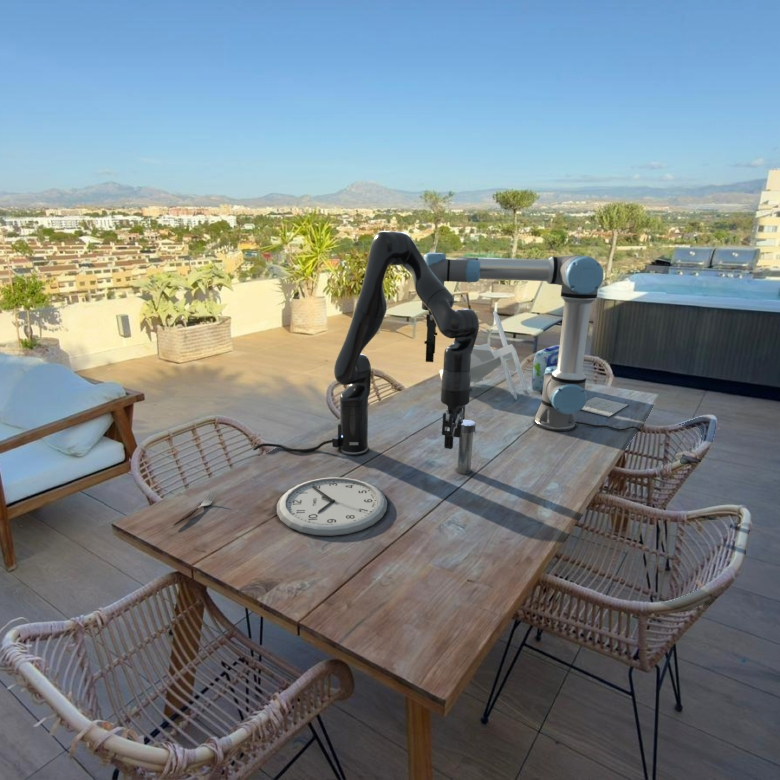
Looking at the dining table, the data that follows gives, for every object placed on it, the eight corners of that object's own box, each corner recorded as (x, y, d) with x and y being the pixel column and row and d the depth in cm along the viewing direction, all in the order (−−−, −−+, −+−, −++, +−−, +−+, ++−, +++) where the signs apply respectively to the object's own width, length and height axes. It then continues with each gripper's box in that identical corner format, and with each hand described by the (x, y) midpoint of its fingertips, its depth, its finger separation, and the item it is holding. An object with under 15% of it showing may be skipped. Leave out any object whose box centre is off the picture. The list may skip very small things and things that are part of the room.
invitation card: (608, 416, 214) (573, 407, 224) (608, 416, 214) (573, 408, 224) (628, 404, 229) (594, 396, 238) (628, 405, 229) (594, 397, 238)
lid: (475, 433, 157) (475, 426, 157) (457, 432, 158) (458, 425, 157) (474, 427, 162) (475, 420, 162) (458, 426, 163) (458, 419, 162)
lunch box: (548, 397, 237) (553, 352, 230) (527, 392, 244) (531, 348, 238) (575, 386, 254) (580, 344, 248) (555, 382, 261) (559, 340, 255)
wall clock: (392, 527, 129) (268, 531, 127) (391, 533, 130) (269, 537, 127) (383, 473, 158) (282, 475, 155) (383, 478, 158) (282, 480, 156)
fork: (169, 526, 131) (168, 519, 131) (210, 497, 146) (210, 490, 145) (177, 528, 130) (176, 521, 130) (218, 498, 145) (217, 492, 144)
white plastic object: (461, 429, 252) (437, 405, 227) (444, 352, 274) (420, 323, 250) (535, 404, 240) (518, 377, 215) (510, 326, 262) (492, 293, 237)
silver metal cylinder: (470, 474, 162) (473, 427, 157) (457, 473, 163) (460, 426, 158) (470, 468, 166) (473, 422, 161) (457, 467, 167) (460, 421, 162)
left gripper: (449, 377, 145) (446, 431, 150) (434, 391, 133) (431, 449, 137) (475, 380, 143) (472, 435, 147) (463, 394, 130) (459, 454, 135)
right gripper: (424, 293, 195) (422, 349, 202) (419, 302, 172) (417, 365, 178) (444, 294, 195) (441, 350, 201) (442, 303, 171) (439, 366, 177)
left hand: (452, 442), depth 142 cm, fingers open, 8 cm apart
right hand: (430, 357), depth 190 cm, fingers open, 13 cm apart
